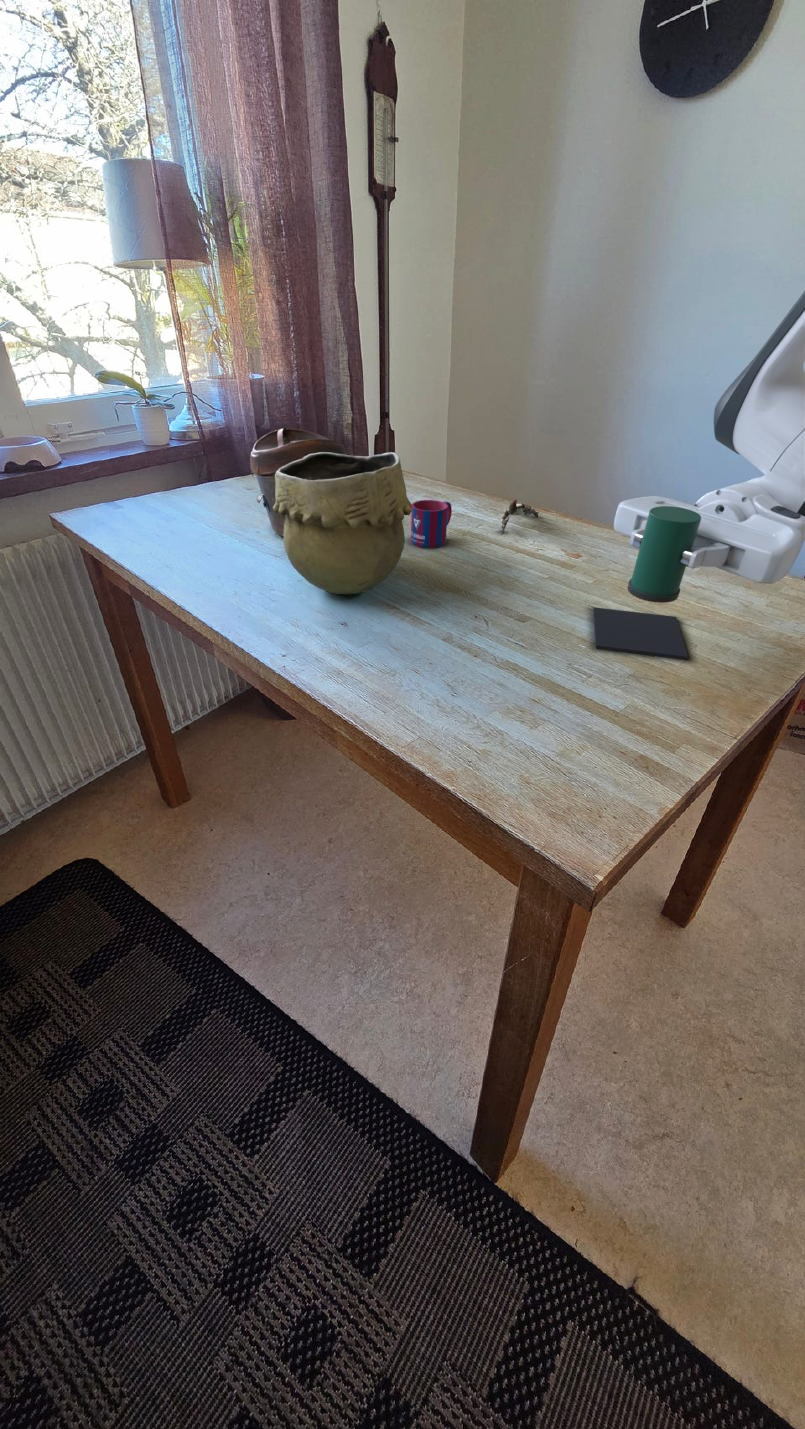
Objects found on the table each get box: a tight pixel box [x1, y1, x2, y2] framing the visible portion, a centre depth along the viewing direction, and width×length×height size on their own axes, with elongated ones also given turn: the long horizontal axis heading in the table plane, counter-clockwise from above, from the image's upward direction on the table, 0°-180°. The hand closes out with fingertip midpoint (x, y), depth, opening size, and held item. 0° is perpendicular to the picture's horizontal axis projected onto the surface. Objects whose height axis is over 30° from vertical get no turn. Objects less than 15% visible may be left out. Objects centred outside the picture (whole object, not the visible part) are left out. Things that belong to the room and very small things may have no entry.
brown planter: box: [249, 426, 348, 537], centre depth 113 cm, size 18×20×18 cm
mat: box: [592, 607, 689, 661], centre depth 86 cm, size 12×12×1 cm
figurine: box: [499, 499, 540, 533], centre depth 121 cm, size 6×4×15 cm
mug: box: [410, 499, 453, 549], centre depth 113 cm, size 7×10×7 cm
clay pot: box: [273, 452, 412, 595], centre depth 91 cm, size 21×21×20 cm
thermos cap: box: [626, 506, 701, 604], centre depth 66 cm, size 6×6×9 cm
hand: (660, 550), depth 66 cm, fingers closed on thermos cap, 5 cm apart
